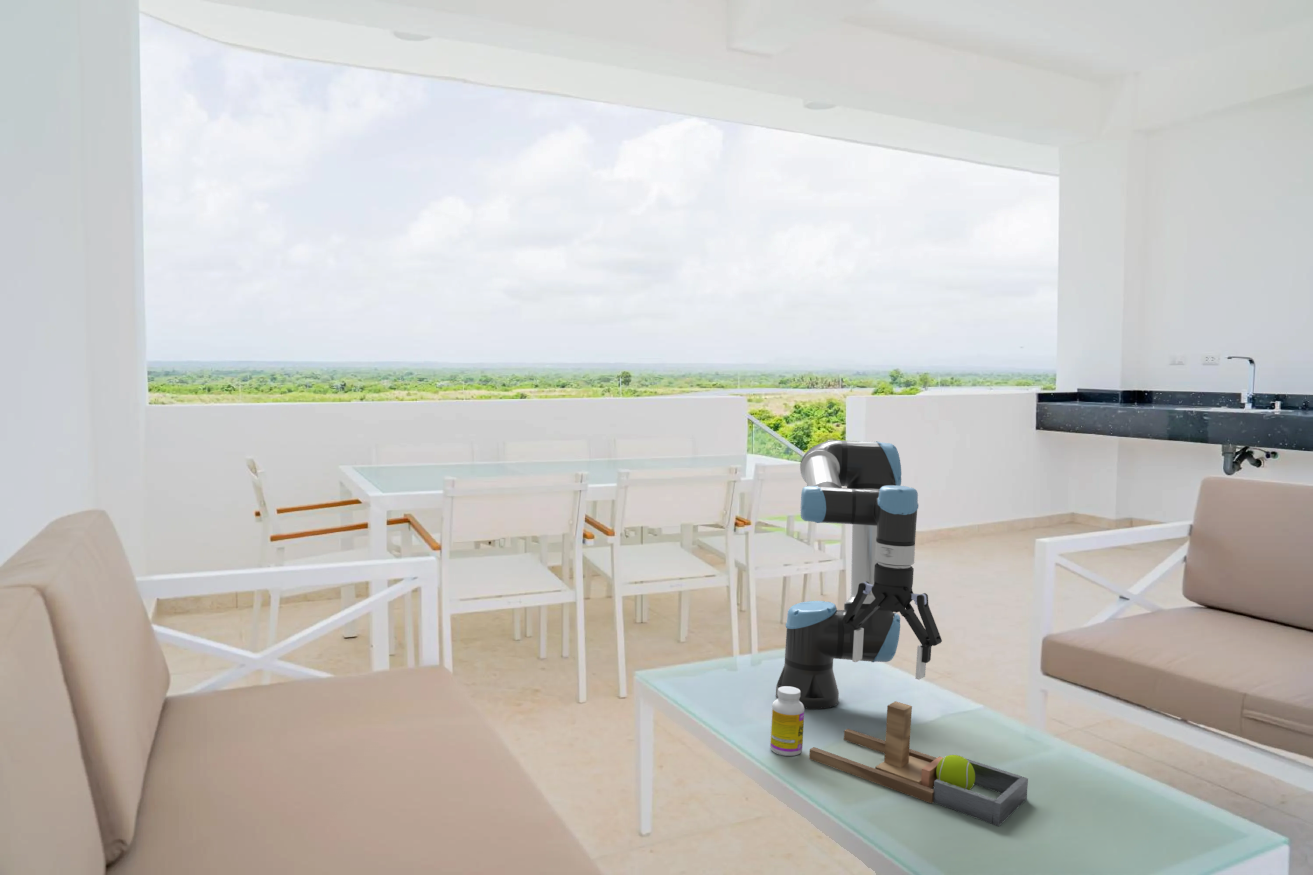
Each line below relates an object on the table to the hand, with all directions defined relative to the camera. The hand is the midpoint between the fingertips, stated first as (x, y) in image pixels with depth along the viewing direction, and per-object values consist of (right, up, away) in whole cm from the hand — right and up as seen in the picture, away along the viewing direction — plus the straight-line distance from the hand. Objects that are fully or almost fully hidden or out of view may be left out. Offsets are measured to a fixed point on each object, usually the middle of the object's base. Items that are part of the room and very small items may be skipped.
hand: (887, 668), depth 172 cm
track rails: (0, -20, 0) cm, 20 cm away
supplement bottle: (-19, -19, +7) cm, 28 cm away
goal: (+14, -21, -12) cm, 28 cm away
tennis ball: (+10, -21, -9) cm, 25 cm away
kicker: (+3, -20, -3) cm, 21 cm away
